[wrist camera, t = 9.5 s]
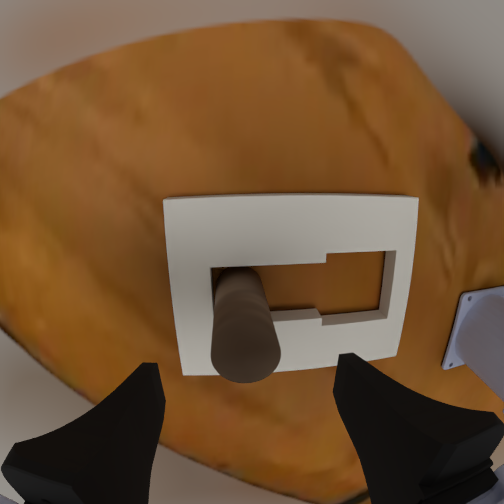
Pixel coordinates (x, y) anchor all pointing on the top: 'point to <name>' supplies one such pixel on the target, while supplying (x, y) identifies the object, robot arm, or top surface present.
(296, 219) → the keyhole plate
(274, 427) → the top surface
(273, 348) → the peg
